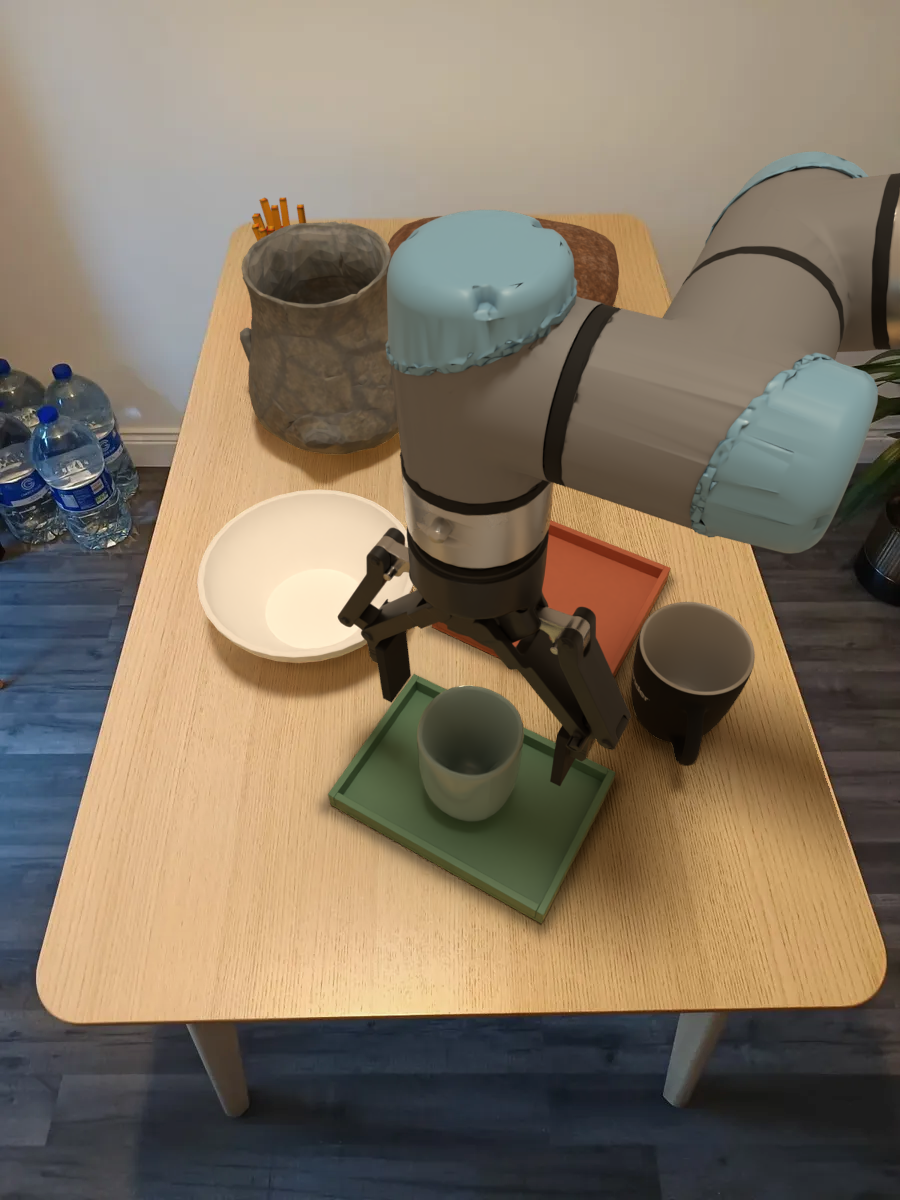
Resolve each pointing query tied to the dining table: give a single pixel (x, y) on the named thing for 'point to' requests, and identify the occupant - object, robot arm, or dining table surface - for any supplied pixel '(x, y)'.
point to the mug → (688, 673)
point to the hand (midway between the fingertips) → (477, 726)
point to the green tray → (485, 848)
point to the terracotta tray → (596, 589)
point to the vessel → (320, 337)
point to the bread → (588, 249)
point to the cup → (469, 751)
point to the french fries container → (274, 217)
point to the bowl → (295, 574)
